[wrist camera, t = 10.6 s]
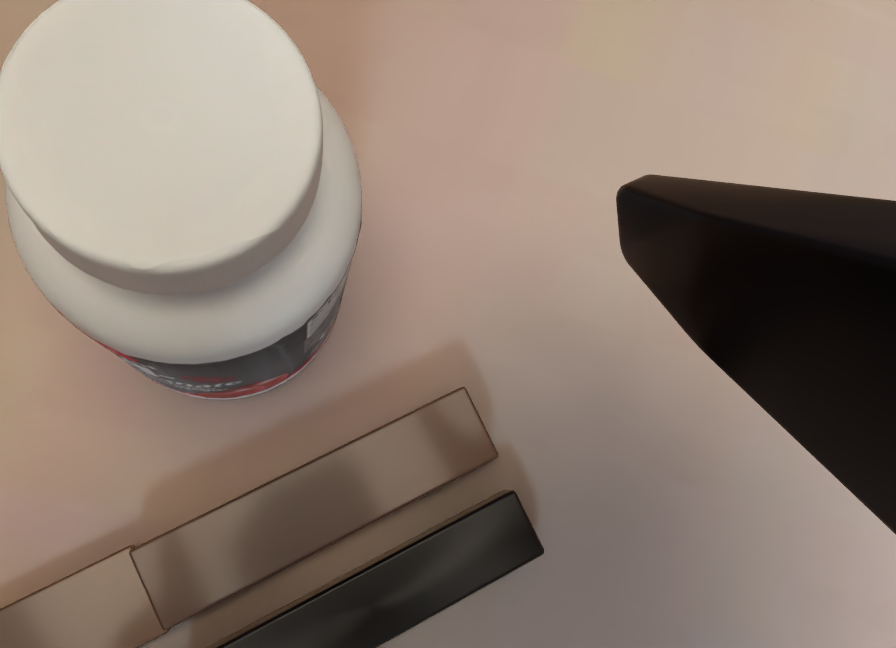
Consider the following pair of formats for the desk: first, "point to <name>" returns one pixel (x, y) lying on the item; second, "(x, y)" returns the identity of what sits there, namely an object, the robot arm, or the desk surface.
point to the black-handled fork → (404, 582)
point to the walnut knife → (253, 534)
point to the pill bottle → (180, 188)
